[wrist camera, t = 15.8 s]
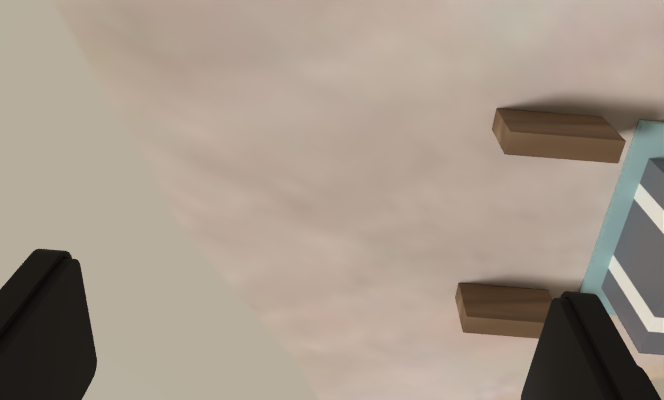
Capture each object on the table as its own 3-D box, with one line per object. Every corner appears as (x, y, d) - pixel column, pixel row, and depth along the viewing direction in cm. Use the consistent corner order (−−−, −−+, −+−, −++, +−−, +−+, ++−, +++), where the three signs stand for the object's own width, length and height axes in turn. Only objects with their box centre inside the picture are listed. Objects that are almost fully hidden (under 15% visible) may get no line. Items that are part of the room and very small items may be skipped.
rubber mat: (639, 119, 39) (642, 122, 38) (744, 128, 39) (749, 131, 38) (573, 307, 47) (576, 311, 46) (661, 314, 47) (664, 318, 46)
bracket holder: (496, 108, 39) (510, 131, 35) (601, 116, 39) (625, 141, 35) (455, 298, 47) (463, 332, 43) (542, 305, 47) (557, 340, 43)
